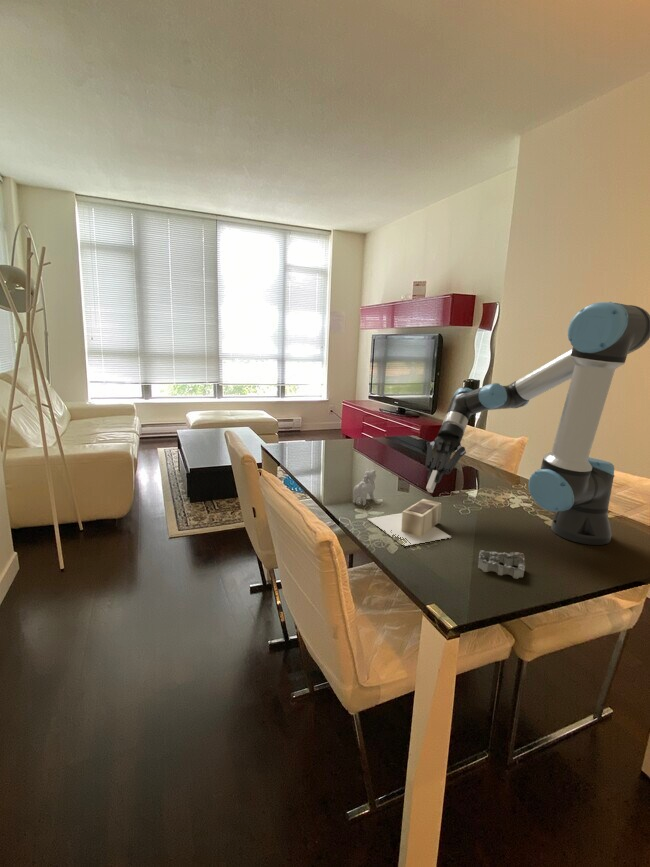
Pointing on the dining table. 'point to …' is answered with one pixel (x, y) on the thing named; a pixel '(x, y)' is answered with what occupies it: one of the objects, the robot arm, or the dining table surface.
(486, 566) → the egg carton
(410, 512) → the birch block
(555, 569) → the dining table surface
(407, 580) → the dining table surface
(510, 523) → the dining table surface
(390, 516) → the mat
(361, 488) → the dog figurine
